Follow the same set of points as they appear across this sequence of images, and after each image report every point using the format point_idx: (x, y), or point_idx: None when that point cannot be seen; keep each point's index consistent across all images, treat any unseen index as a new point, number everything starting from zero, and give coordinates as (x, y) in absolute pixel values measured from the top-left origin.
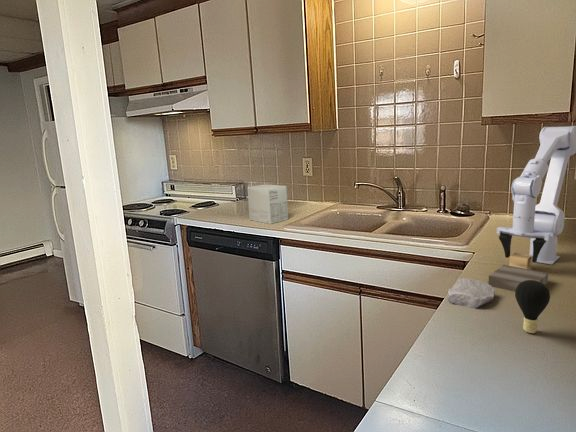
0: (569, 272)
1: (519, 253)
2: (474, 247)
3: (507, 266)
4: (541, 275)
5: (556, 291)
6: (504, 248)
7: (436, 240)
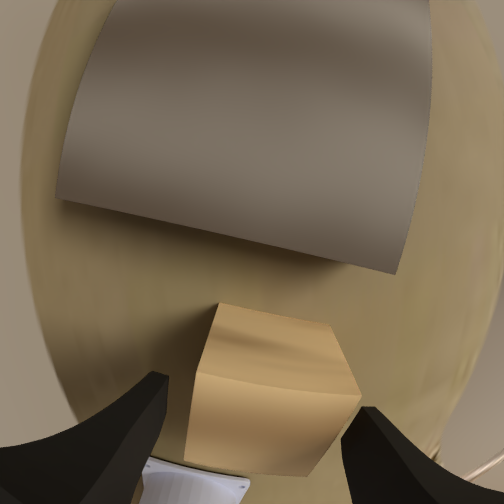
0: (65, 388)
1: (277, 472)
2: None
3: (367, 234)
4: (89, 106)
5: (68, 83)
6: (418, 452)
7: (482, 469)
